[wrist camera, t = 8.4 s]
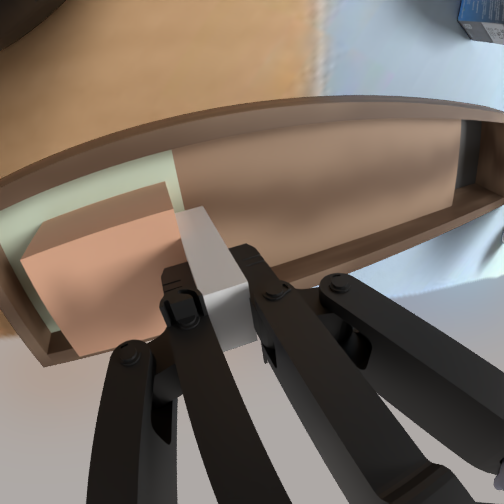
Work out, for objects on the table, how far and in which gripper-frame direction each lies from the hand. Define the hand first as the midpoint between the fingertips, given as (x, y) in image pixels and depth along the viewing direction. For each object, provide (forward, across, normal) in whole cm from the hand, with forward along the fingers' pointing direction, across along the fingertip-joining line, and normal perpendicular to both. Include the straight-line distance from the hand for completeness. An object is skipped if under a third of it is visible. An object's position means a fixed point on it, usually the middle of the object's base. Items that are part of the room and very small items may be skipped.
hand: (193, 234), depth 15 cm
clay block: (+1, -4, 0) cm, 4 cm away
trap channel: (+4, +12, 0) cm, 13 cm away
